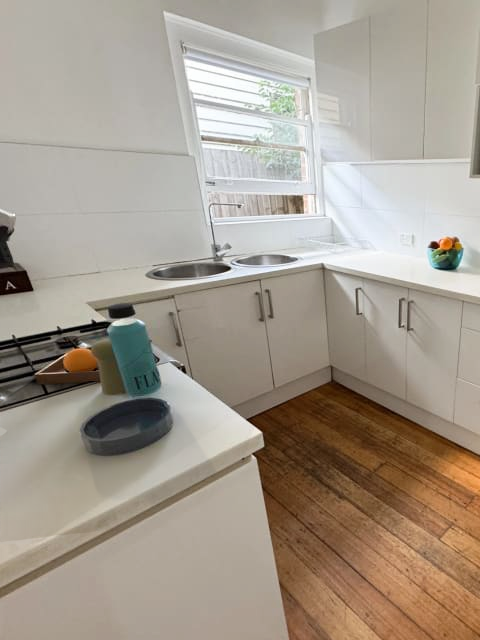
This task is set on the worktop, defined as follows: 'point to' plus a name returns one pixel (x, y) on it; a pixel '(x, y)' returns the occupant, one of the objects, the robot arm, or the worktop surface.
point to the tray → (64, 374)
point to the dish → (127, 426)
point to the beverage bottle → (133, 351)
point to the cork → (108, 367)
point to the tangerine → (80, 360)
